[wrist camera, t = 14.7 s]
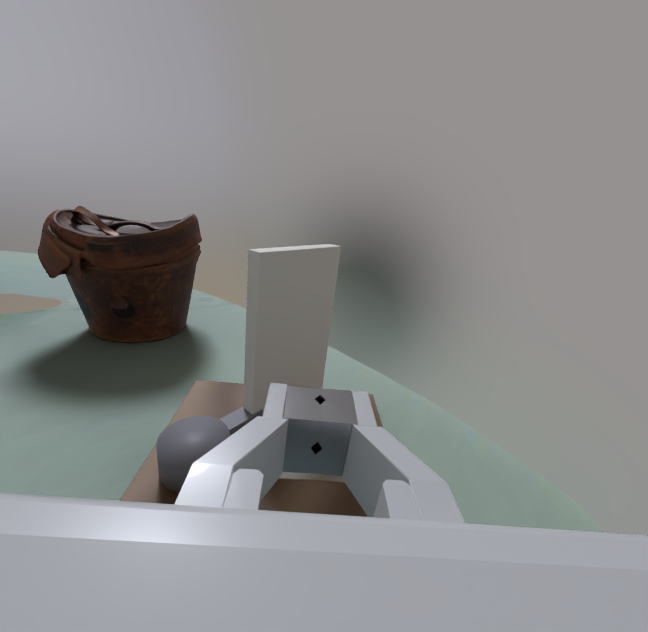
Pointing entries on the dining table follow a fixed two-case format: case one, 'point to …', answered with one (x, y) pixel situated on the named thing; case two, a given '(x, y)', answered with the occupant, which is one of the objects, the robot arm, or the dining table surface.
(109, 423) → the dining table surface
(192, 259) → the case
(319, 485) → the dial board
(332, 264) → the white upright panel
